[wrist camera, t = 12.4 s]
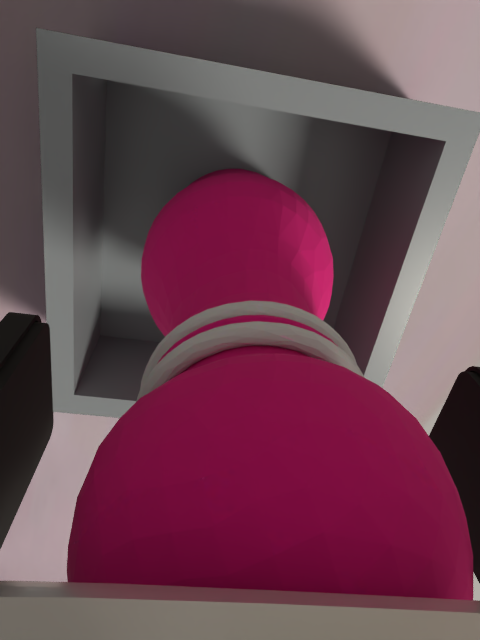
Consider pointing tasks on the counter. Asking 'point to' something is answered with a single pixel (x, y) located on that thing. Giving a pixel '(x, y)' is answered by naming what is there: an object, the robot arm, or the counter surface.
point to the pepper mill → (262, 426)
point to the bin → (218, 154)
